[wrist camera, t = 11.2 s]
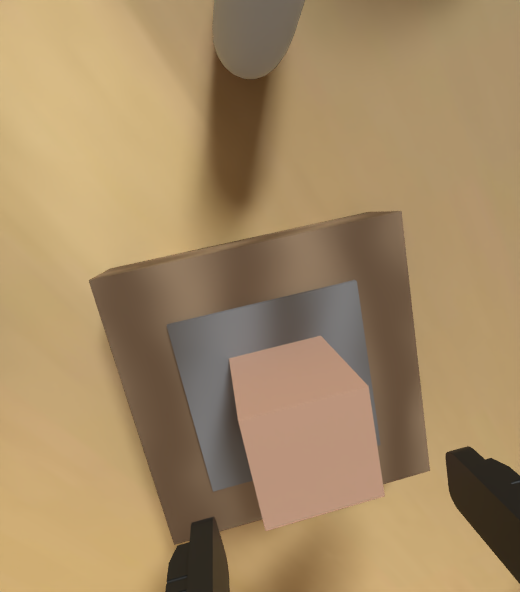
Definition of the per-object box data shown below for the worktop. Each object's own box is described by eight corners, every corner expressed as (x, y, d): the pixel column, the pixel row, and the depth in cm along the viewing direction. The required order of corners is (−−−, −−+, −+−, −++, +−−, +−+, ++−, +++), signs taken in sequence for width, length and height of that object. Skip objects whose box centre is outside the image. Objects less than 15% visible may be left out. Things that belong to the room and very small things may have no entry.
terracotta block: (320, 335, 20) (368, 386, 14) (335, 417, 21) (384, 495, 15) (229, 358, 19) (237, 420, 13) (249, 441, 20) (265, 531, 14)
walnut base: (368, 211, 23) (404, 211, 19) (397, 433, 27) (432, 473, 23) (110, 268, 22) (86, 281, 17) (179, 494, 25) (173, 549, 21)
